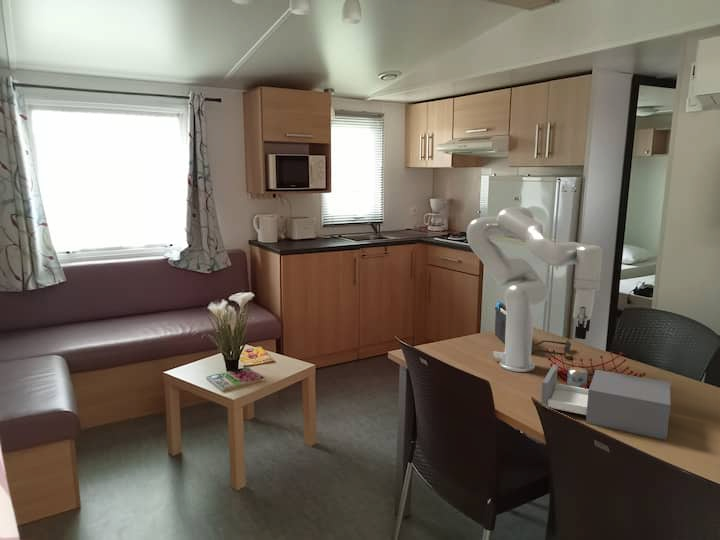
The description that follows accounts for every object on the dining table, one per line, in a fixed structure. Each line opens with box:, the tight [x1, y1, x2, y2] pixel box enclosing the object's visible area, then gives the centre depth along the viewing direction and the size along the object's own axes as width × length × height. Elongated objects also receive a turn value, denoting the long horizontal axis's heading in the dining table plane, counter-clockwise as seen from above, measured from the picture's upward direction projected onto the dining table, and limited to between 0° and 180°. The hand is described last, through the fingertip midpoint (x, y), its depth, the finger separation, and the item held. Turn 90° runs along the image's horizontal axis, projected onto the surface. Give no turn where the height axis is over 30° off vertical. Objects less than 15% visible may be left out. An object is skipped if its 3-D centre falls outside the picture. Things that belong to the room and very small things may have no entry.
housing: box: [585, 369, 671, 441], centre depth 151 cm, size 20×18×10 cm
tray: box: [540, 364, 589, 416], centre depth 158 cm, size 19×17×8 cm
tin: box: [566, 366, 589, 388], centre depth 174 cm, size 6×6×6 cm
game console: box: [494, 301, 506, 345], centre depth 221 cm, size 28×6×15 cm, turn 4°
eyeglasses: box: [531, 340, 572, 359], centre depth 210 cm, size 15×15×5 cm
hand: (582, 334), depth 171 cm, fingers open, 9 cm apart
